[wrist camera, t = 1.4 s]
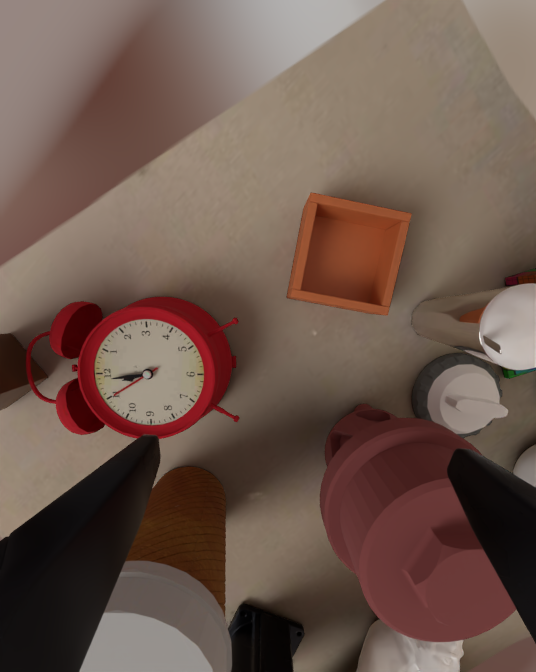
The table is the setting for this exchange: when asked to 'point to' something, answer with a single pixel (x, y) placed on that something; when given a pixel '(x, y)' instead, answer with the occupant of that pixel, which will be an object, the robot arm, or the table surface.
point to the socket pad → (348, 254)
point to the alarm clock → (139, 367)
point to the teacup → (527, 466)
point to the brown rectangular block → (15, 371)
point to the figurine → (406, 653)
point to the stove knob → (458, 394)
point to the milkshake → (484, 324)
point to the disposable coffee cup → (170, 585)
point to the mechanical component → (408, 527)
